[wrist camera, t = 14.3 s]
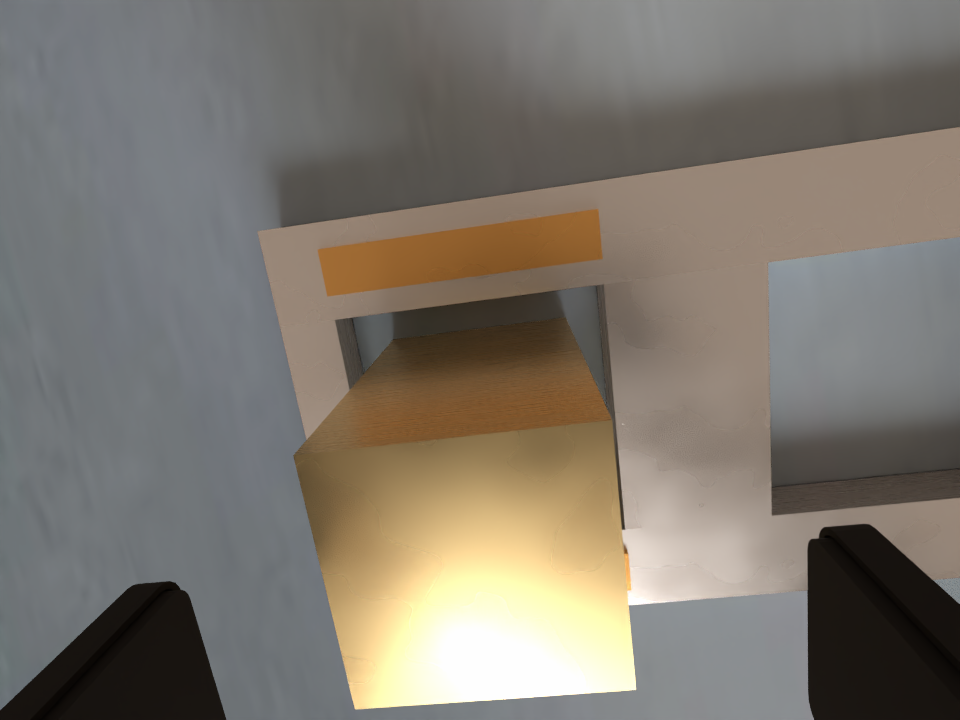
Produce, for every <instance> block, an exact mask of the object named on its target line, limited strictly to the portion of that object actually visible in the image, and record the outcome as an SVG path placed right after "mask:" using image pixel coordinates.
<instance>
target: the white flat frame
mask: <svg viewBox="0 0 960 720" xmlns="http://www.w3.org/2000/svg"><path fill="white" fill-rule="evenodd" d="M258 236H259V240H260V244H261V248H262V253H263V257H264V261H265V265H266V270H267V274H268V278H269V282H270V287H271V291H272V295H273V299H274V304H275V308H276V312H277V316H278V321H279V325H280V329H281V333H282V337H283V342H284V346H285V350H286V354H287V359H288V363H289V367H290V371H291V376H292V380H293V384H294V388H295V393H296V397H297V401H298V405H299V410H300V414H301V418H302V422H303V427H304V431H305V435H306V439H308V438H309V437H310V436H311V434H312V433H313V432H314V431H315V430H316V429H317V428H318V426H319V425H320V424H321V423H322V422H323V421H324V419H325V418H326V417H327V416H328V415H329V414H330V412H331V411H332V410H333V409H334V408H335V407H336V405H337V404H338V403H339V402H340V401H341V400H342V399H343V397H344V396H345V395H346V394H347V393H348V392H349V390H350V389H351V388H352V387H353V386H354V385H355V383H356V382H357V381H358V380H359V379H360V378H361V376H362V375H363V370H362V365H361V360H360V355H359V350H358V345H357V340H356V335H355V331H354V326H353V321H352V317H360V316H367V315H375V314H382V313H390V312H397V311H405V310H412V309H420V308H428V307H435V306H443V305H450V304H458V303H465V302H473V301H480V300H488V299H495V298H503V297H510V296H518V295H525V294H533V293H541V292H548V291H556V290H563V289H571V288H578V287H586V286H593V285H596V287H597V298H598V309H599V320H600V331H601V342H602V353H603V364H604V375H605V386H606V397H607V408H608V412H609V414H610V416H611V419H612V424H613V436H614V447H615V458H616V469H617V481H618V492H619V503H620V514H621V526H622V537H623V548H624V559H625V571H626V582H627V593H628V605H637V604H649V603H661V602H673V601H685V600H697V599H709V598H721V597H733V596H745V595H757V594H769V593H781V592H793V591H805V590H808V569H807V548H808V543H809V540H811V539H816V538H819V534H820V531H821V529H822V528H824V527H830V526H843V525H855V524H870V525H871V526H873V527H874V528H876V529H877V530H878V531H879V532H880V533H881V534H882V535H883V536H885V537H886V538H887V539H888V540H889V541H890V542H891V543H892V544H893V545H894V546H896V547H897V548H898V549H899V550H900V551H901V552H902V553H903V554H904V555H906V556H907V557H908V558H909V559H910V560H911V561H912V562H913V563H914V564H915V565H917V566H918V567H919V568H920V569H921V570H922V571H923V572H924V573H925V574H927V575H928V576H929V577H930V578H931V579H932V580H937V579H949V578H960V469H954V470H944V471H934V472H924V473H914V474H904V475H894V476H884V477H874V478H864V479H854V480H843V481H833V482H823V483H813V484H803V485H793V486H783V487H773V488H771V432H770V365H769V297H768V262H774V261H782V260H789V259H797V258H804V257H812V256H819V255H827V254H834V253H842V252H849V251H857V250H865V249H872V248H880V247H887V246H895V245H902V244H910V243H917V242H925V241H932V240H940V239H947V238H955V237H960V127H956V128H949V129H943V130H936V131H929V132H923V133H916V134H909V135H902V136H896V137H889V138H882V139H875V140H869V141H862V142H855V143H849V144H842V145H835V146H828V147H822V148H815V149H808V150H801V151H795V152H788V153H781V154H775V155H768V156H761V157H754V158H748V159H741V160H734V161H727V162H721V163H714V164H707V165H700V166H694V167H687V168H680V169H674V170H667V171H660V172H653V173H647V174H640V175H633V176H626V177H620V178H613V179H606V180H600V181H593V182H586V183H579V184H573V185H566V186H559V187H552V188H546V189H539V190H532V191H526V192H519V193H512V194H505V195H499V196H492V197H485V198H478V199H472V200H465V201H458V202H452V203H445V204H438V205H431V206H425V207H418V208H411V209H404V210H398V211H391V212H384V213H377V214H371V215H364V216H357V217H351V218H344V219H337V220H330V221H324V222H317V223H310V224H303V225H297V226H290V227H283V228H277V229H270V230H263V231H258Z"/></svg>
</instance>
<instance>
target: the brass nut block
mask: <svg viewBox="0 0 960 720" xmlns="http://www.w3.org/2000/svg"><path fill="white" fill-rule="evenodd" d="M293 456H294V460H295V464H296V468H297V472H298V477H299V481H300V485H301V489H302V493H303V497H304V501H305V505H306V509H307V514H308V518H309V522H310V526H311V530H312V534H313V538H314V542H315V546H316V551H317V555H318V559H319V563H320V567H321V571H322V575H323V579H324V583H325V588H326V592H327V596H328V600H329V604H330V608H331V612H332V616H333V620H334V625H335V629H336V633H337V637H338V641H339V645H340V649H341V653H342V657H343V662H344V666H345V670H346V674H347V678H348V682H349V686H350V690H351V694H352V699H353V703H354V707H355V709H367V708H381V707H395V706H410V705H424V704H438V703H453V702H467V701H481V700H496V699H510V698H524V697H539V696H553V695H567V694H582V693H596V692H610V691H625V690H636V683H635V672H634V661H633V650H632V638H631V627H630V616H629V605H628V593H627V582H626V571H625V559H624V548H623V537H622V526H621V514H620V503H619V492H618V481H617V469H616V458H615V447H614V436H613V424H612V419H611V416H610V414H609V412H608V410H607V408H606V405H605V403H604V401H603V399H602V397H601V394H600V392H599V390H598V388H597V386H596V383H595V381H594V379H593V377H592V374H591V372H590V370H589V368H588V366H587V363H586V361H585V359H584V357H583V355H582V352H581V350H580V348H579V346H578V344H577V341H576V339H575V337H574V335H573V333H572V330H571V328H570V326H569V324H568V321H567V319H566V317H565V318H557V319H549V320H541V321H533V322H525V323H518V324H510V325H502V326H494V327H486V328H479V329H471V330H463V331H455V332H447V333H439V334H432V335H424V336H416V337H408V338H400V339H393V341H392V342H391V343H390V344H389V345H388V346H387V347H386V349H385V350H384V351H383V352H382V353H381V354H380V356H379V357H378V358H377V359H376V360H375V361H374V363H373V364H372V365H371V366H370V367H369V368H368V370H367V371H366V372H365V373H364V374H363V375H362V376H361V378H360V379H359V380H358V381H357V382H356V383H355V385H354V386H353V387H352V388H351V389H350V390H349V392H348V393H347V394H346V395H345V396H344V397H343V399H342V400H341V401H340V402H339V403H338V404H337V405H336V407H335V408H334V409H333V410H332V411H331V412H330V414H329V415H328V416H327V417H326V418H325V419H324V421H323V422H322V423H321V424H320V425H319V426H318V428H317V429H316V430H315V431H314V432H313V433H312V434H311V436H310V437H309V438H308V439H307V440H306V441H305V443H304V444H303V445H302V446H301V447H300V448H299V450H298V451H297V452H296V453H295V454H294V455H293Z"/></svg>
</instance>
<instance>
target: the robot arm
mask: <svg viewBox="0 0 960 720" xmlns="http://www.w3.org/2000/svg"><path fill="white" fill-rule="evenodd" d="M807 569H808V696H809V703H810V708H811V711H812V715H813V717H814V720H960V604H959V603H957V602H956V601H955V600H954V599H953V598H952V597H951V596H950V595H949V594H948V593H946V592H945V591H944V590H943V589H942V588H941V587H940V586H939V585H938V584H936V583H935V582H934V581H933V580H932V579H931V578H930V577H929V576H928V575H927V574H925V573H924V572H923V571H922V570H921V569H920V568H919V567H918V566H917V565H915V564H914V563H913V562H912V561H911V560H910V559H909V558H908V557H907V556H906V555H904V554H903V553H902V552H901V551H900V550H899V549H898V548H897V547H896V546H894V545H893V544H892V543H891V542H890V541H889V540H888V539H887V538H886V537H885V536H883V535H882V534H881V533H880V532H879V531H878V530H877V529H876V528H874V527H873V526H871V525H870V524H855V525H843V526H830V527H824V528H822V529H821V531H820V534H819V538H816V539H811V540H809V543H808V548H807ZM0 720H226V717H225V714H224V710H223V707H222V704H221V700H220V697H219V694H218V690H217V687H216V684H215V680H214V677H213V674H212V670H211V667H210V664H209V660H208V657H207V654H206V650H205V647H204V644H203V640H202V637H201V633H200V630H199V627H198V623H197V620H196V617H195V613H194V610H193V607H192V603H191V600H190V597H189V595H188V594H187V593H186V592H185V591H183V590H180V588H179V586H178V585H177V584H176V583H174V582H171V581H168V582H156V583H144V584H136V585H133V586H131V587H130V588H128V589H127V590H126V591H125V592H124V593H123V594H122V595H121V596H120V597H119V598H118V599H117V600H116V601H115V602H113V603H112V604H111V605H110V606H109V607H108V608H107V609H106V610H105V611H104V612H103V613H102V614H101V615H100V616H99V617H98V618H97V619H96V620H95V621H94V622H93V623H91V624H90V625H89V626H88V627H87V628H86V629H85V630H84V631H83V632H82V633H81V634H80V635H79V636H78V637H77V638H76V639H75V640H74V641H73V642H72V643H70V644H69V645H68V646H67V647H66V648H65V649H64V650H63V651H62V652H61V653H60V654H59V655H58V656H57V657H56V658H55V659H54V660H53V661H52V662H51V663H50V664H48V665H47V666H46V667H45V668H44V669H43V670H42V671H41V672H40V673H39V674H38V675H37V676H36V677H35V678H34V679H33V680H32V681H31V682H30V683H29V684H28V685H26V686H25V687H24V688H23V689H22V690H21V691H20V692H19V693H18V694H17V695H16V696H15V697H14V698H13V699H12V700H11V701H10V702H9V703H8V704H7V705H6V706H4V707H3V708H2V709H1V710H0Z"/></svg>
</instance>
